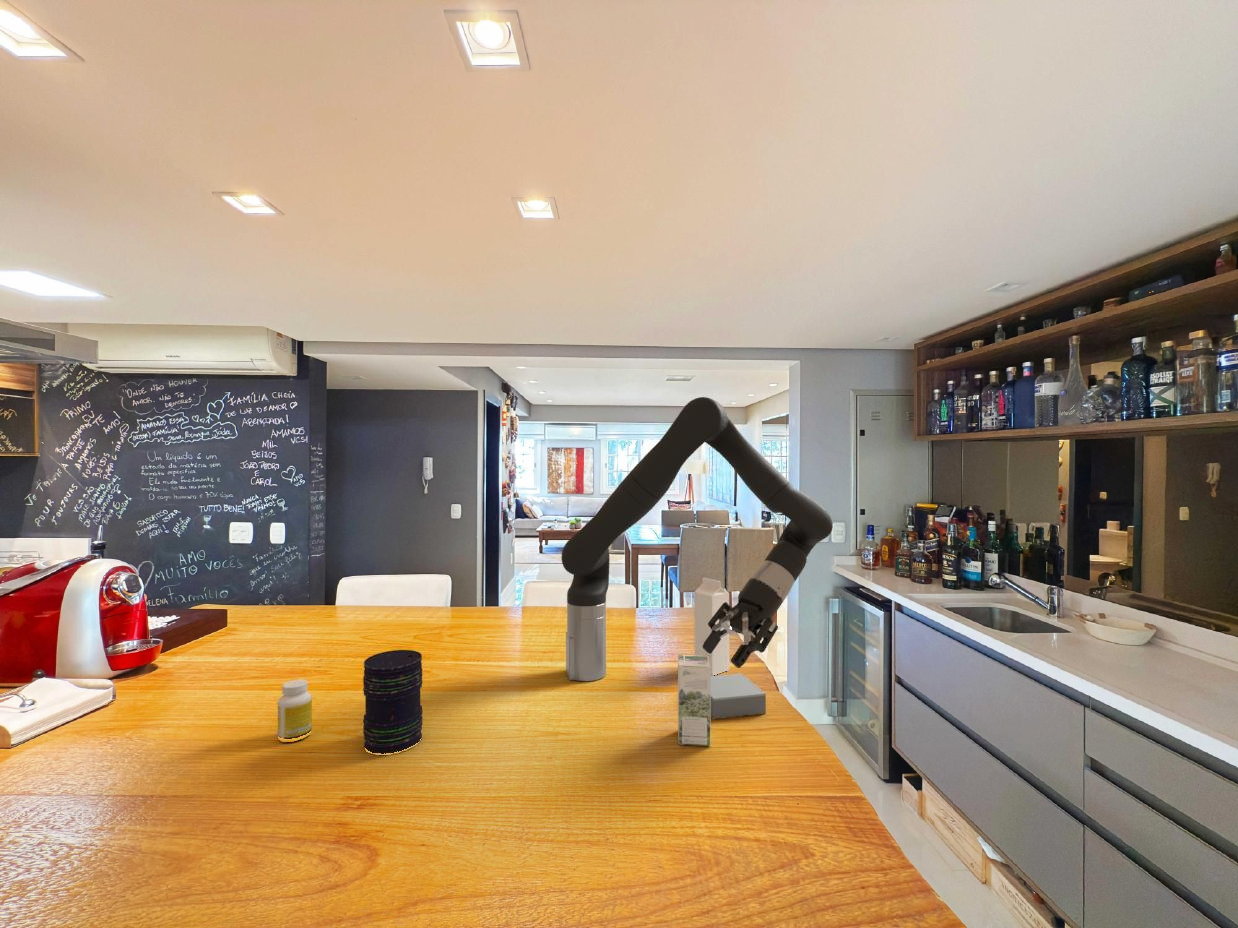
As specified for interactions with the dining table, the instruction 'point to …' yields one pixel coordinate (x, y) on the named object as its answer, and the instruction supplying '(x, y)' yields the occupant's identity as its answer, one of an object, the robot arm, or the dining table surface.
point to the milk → (705, 608)
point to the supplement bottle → (294, 710)
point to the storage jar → (392, 701)
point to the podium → (735, 696)
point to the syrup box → (694, 700)
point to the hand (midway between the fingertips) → (719, 657)
